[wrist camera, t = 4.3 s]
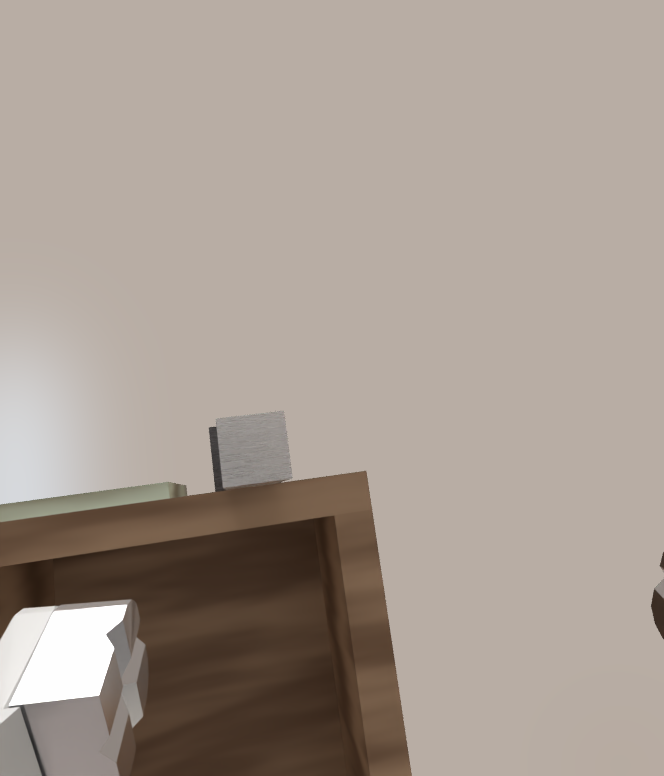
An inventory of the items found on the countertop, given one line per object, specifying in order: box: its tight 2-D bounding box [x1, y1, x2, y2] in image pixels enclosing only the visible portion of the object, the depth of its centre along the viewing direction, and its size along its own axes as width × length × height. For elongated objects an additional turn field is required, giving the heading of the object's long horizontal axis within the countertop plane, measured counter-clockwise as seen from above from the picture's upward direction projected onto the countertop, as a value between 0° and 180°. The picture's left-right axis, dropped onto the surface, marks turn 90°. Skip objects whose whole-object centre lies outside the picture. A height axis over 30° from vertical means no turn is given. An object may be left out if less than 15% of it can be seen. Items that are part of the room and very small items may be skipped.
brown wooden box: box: [0, 471, 412, 776], centre depth 30 cm, size 10×20×27 cm, turn 100°
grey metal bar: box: [209, 411, 292, 492], centre depth 30 cm, size 21×4×4 cm, turn 10°
